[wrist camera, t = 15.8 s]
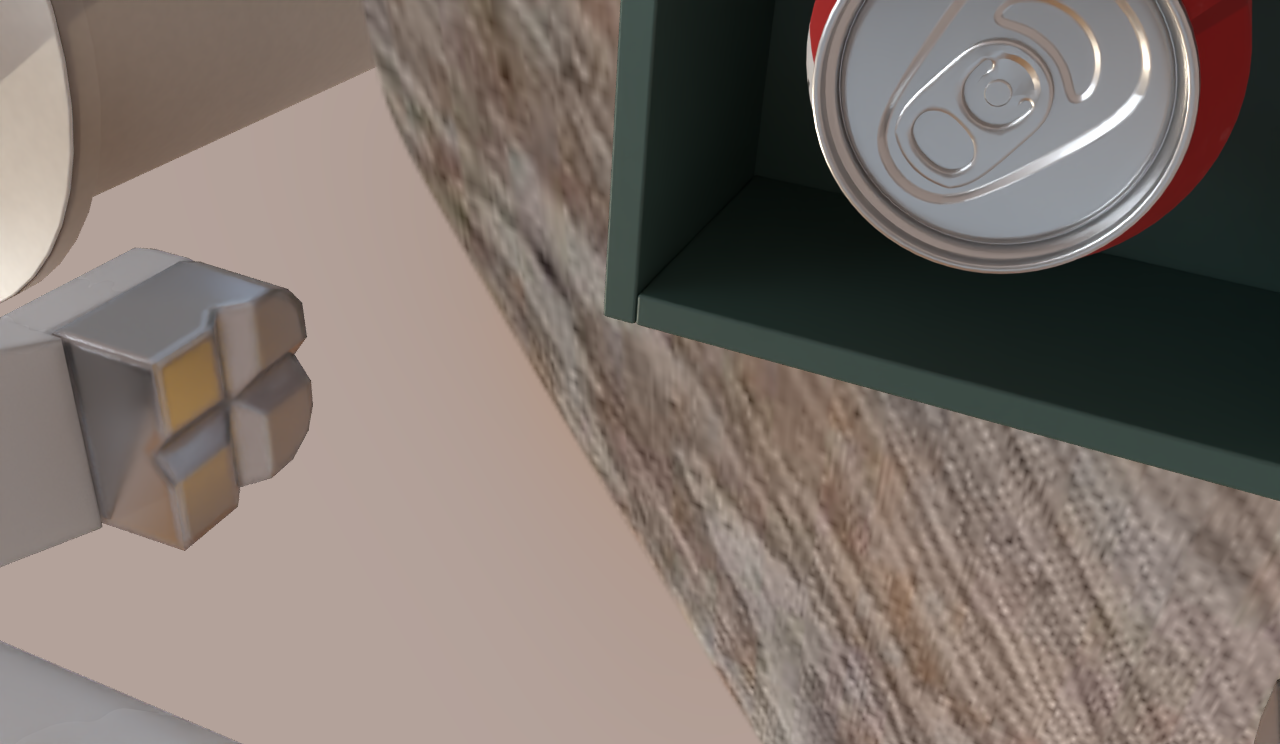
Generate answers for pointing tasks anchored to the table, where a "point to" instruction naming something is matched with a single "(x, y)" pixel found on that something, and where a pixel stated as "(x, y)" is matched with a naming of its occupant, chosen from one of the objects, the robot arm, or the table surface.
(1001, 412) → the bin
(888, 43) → the soda can
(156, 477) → the robot arm
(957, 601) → the table surface
